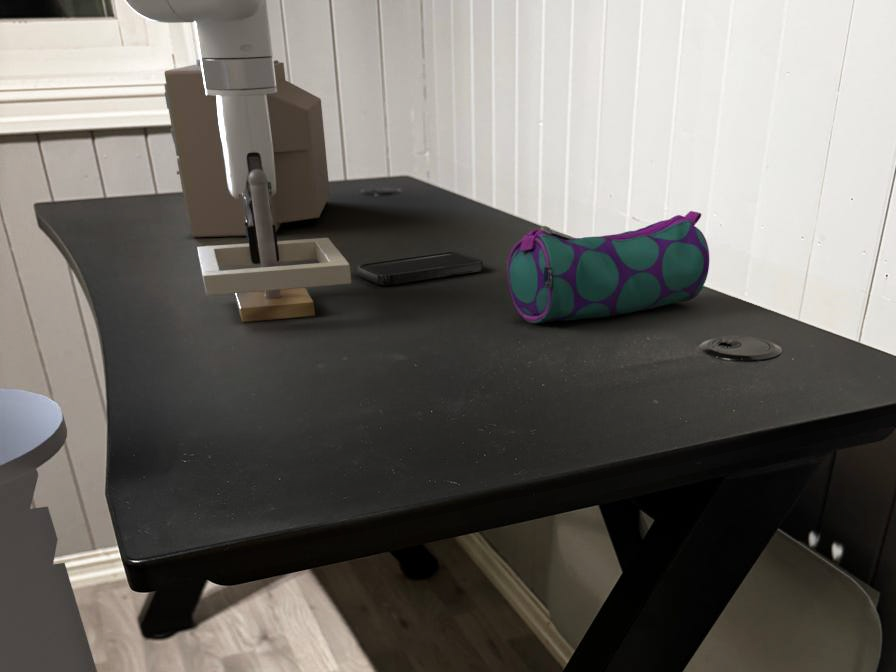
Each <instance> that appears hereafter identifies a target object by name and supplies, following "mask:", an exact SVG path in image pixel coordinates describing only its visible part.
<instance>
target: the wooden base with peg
mask: <svg viewBox="0 0 896 672" xmlns="http://www.w3.org/2000/svg"><path fill="white" fill-rule="evenodd" d="M248 182H249V184H250V190H251V197H252V204H253V211H254V219H255V226H256V233H257V241H258V248H259V255H260V262H261V264H260V268H263V267H276V266H278V262H277V258H276V250H275V243H274V235H273V227H272V219H271V211H270V204H269V196H268V188H267V176H266V174H265V173H264V172H263V171H262V170H259V169H254V170H252V171H251V172H250V173H249V176H248ZM234 295H235V300H236V306H237V310H238V313H239V316H240V319H241V322H242V323H249V322H259V321H271V320H281V319H282V320H283V319H293V318H294V319H295V318H304V317H315V316H316V314H315V313H316V311H315V304H314V303H315V302H314V300H313V299H312V297H311V295H310V293H309V292H308V290H307V289H306V287H305V288H294V289H282V290H270V291H258V292H246V293H234Z"/></svg>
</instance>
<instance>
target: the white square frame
mask: <svg viewBox="0 0 896 672" xmlns="http://www.w3.org/2000/svg"><path fill="white" fill-rule="evenodd" d="M277 244H278V252H279V261H278V262H277V263H286V262H301V261H312V260H317V262H315V263H303V264H292V265H291V264H289V265H277V266H276V267H263V268H261V267H252V268H239V269H226V270H221V269H220V268H223V267H234V266H236V267H237V266H249V265H255V264H254V263H252V261H251V255H250V248H249V243H247V242H246V243H233V244H232V243H231V244H220V245H205V246H197V247H196V248H197V255H198V259H199V260H198V261H199V265H200V271H201V277H202V281H203V286H204V290H205V294H206V296H207V297H208V296H221V295H235V293H246V292H258V291H270V290H282V289H294V288H305V289H306V288H317V287H327V286H328V287H329V286H340V285H341V286H342V285H351V284H352V275H351V264H350V263H349V262H348V261H347V259H346V258H345V256H343V254H342V253H341V251H339V249H338V248H337V247H336V246H335V244H334V243H333V242H332V241H331V239H330V238H329V237H315V238H303V239H291V240H290V239H289V240H277Z"/></svg>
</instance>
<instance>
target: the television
mask: <svg viewBox="0 0 896 672" xmlns="http://www.w3.org/2000/svg"><path fill="white" fill-rule="evenodd" d="M273 62H274V70H275V79H276V88H277V93H272V94H266V96H267V103H268V111H269V119H270V127H271V135H272V144H273V154H274V165H275V177H276V193H275V194H274V195H273V196H272V197H271V196H270V201H271V209H272V217H273V224H275V228H276V232H277V231H278V229H279V228H280V227H281V225H282V224H285V223H293V222H298V221H299V222H300V221H306V220H312V219H313V220H314V219H319V218H320V217H321V214H322V213H323V210H324V208H325V206H326V204H327V202H328V200H329V198H330V195H331V192H330V184H329V183H330V181H329V172H328V171H329V170H328V160H327V149H326V140H325V127H324V117H323V107H322V99H321V98H320V97H318V96H316V95H314V94H313V93H311V92H309V91H307V90H305V89H303V88H302V87H299V86H298V85H295V84H294V83H292V82H289V81H288V80H286V71H285V64H284V62H282V61H281V62H279V60H277V59H273ZM164 78H165V83H164V84H163V85H164V97H165V98H164V99H165V104H166V109H167V110H168V115H169V120H170V126H171V128H170V130H169V131H170V134H171V138H172V142H173V144H174V148H175V155H176V156H177V158H176V162H177V168H178V170H176V175H179V179H180V184H181V190H182V197H183V202H184V208H185V213H186V220H187V226H188V227H190V229H191V234H192V238H217V237H219V238H221V237H222V238H223V237H226V238H227V237H247V236H246V229H245V223H244V222H246V217H245V211H244V204H243V197H242V194H238V195H239V199H236V198H234V197H233V196H232V195H231V193H230V191H229V189H228V184H227V176H226V169H225V162H224V155H223V148H222V142H221V135H220V127H219V119H218V110H217V96H211V95H206V91H205V89H206V88H205V85H204V79H203V72H202V66H201V58H200V57H199V59H195V64H190V65H187V66H183V67H182V66H181V67H178V68H177V67H176V68H172V69H168V70H165V71H164Z"/></svg>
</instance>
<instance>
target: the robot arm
mask: <svg viewBox="0 0 896 672" xmlns="http://www.w3.org/2000/svg"><path fill="white" fill-rule="evenodd" d="M124 2H125V3H126V4H127V6H129V7H130V8H131V9H132V10H133V11H134V12H135V13H136V14H138V15H140V16H141V17H143V18H144V19H147V20H149V21H152V22H157V23H164V24H165V23H166V24H167V23H168V24H171V23H172V24H175V23H176V24H178V23H179V24H180V23H184V24H185V23H194V26H195V32H196V39H197V40H196V41H197V46H198V53H199V59H200V58H201V66H202V72H203V79H204V85H205V88H206V89H205V91H206V95H211V96H217V110H218V119H219V127H220V135H221V142H222V148H223V155H224V162H225V169H226V176H227V184H228V189H229V191H230V193H231V195H232V196H233V197H234V198H236V199H239V195H238V194H242V197H243V204H244V211H245V217H246V222H244V223H245V229H246V236H245V237H246V243H249V248H250V255H251V261H252V263H254V264H253V265H261V262H260V255H259V248H258V241H257V233H256V226H255V219H254V211H253V204H252V197H251V190H250V184H249V182H248V176H249V173H250V172H251V171H252V170H254V169H259V170H262V171H263V172H264V173H265V174H266V176H267V188H268V196H269V204H270V211H271V219H272V227H273V235H274V243H275V250H276V258H277V263H279V262H278V261H279V252H278V244H277V241H278V236H277V231H276V228H275V224H273V217H272V209H271V201H270V196H271V197H272V196H273V195H274V194H275V193H276V177H275V165H274V154H273V144H272V135H271V127H270V119H269V111H268V103H267V96H266V94H272V93H277V88H276V79H275V70H274V62H273V60H274V56H273V55H274V53H273V48H272V47H273V46H272V38H271V28H270V21H269V13H268V4H267V3H268V2H267V0H124Z"/></svg>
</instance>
